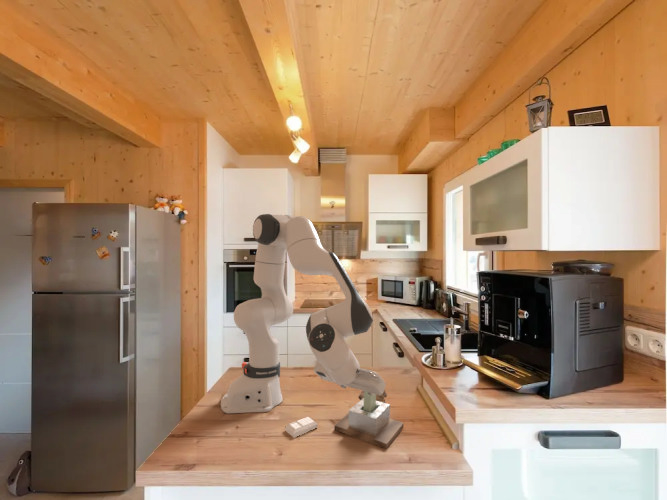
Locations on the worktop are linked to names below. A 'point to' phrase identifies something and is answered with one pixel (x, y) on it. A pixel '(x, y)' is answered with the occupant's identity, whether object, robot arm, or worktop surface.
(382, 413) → the grey slotted block
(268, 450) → the worktop surface
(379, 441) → the walnut board
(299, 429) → the soap bar
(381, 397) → the wooden fragment
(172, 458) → the worktop surface
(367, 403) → the sage slat
